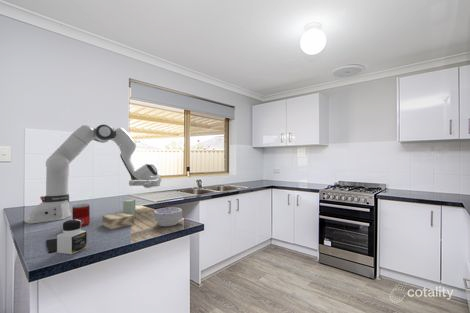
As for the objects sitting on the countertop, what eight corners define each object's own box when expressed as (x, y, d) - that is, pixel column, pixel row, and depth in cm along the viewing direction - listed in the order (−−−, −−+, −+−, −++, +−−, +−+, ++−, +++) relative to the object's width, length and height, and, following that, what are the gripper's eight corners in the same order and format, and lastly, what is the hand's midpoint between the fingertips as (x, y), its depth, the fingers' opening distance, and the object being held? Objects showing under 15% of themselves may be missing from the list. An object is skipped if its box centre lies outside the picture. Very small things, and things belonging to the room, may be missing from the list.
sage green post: (123, 219, 142) (123, 201, 142) (127, 217, 147) (127, 199, 147) (131, 219, 142) (131, 201, 142) (135, 217, 147) (135, 199, 147)
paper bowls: (167, 230, 121) (167, 214, 121) (147, 225, 129) (147, 211, 129) (188, 222, 134) (187, 208, 134) (169, 219, 142) (169, 206, 142)
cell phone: (48, 254, 92) (48, 252, 92) (46, 242, 106) (46, 240, 106) (75, 248, 98) (75, 246, 98) (70, 237, 111) (70, 235, 111)
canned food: (92, 223, 134) (92, 204, 134) (79, 227, 126) (79, 207, 126) (82, 222, 136) (82, 203, 136) (69, 226, 128) (69, 206, 129)
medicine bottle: (72, 254, 91) (71, 223, 91) (56, 253, 92) (56, 222, 92) (87, 247, 98) (87, 218, 98) (72, 246, 99) (72, 217, 99)
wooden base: (110, 229, 123) (110, 219, 123) (102, 224, 131) (102, 215, 131) (133, 224, 131) (133, 215, 131) (124, 220, 140) (124, 212, 140)
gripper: (134, 177, 171) (124, 179, 158) (161, 177, 170) (153, 179, 156) (134, 186, 171) (124, 188, 158) (162, 186, 170) (153, 188, 156)
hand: (139, 184), depth 157 cm, fingers open, 8 cm apart
